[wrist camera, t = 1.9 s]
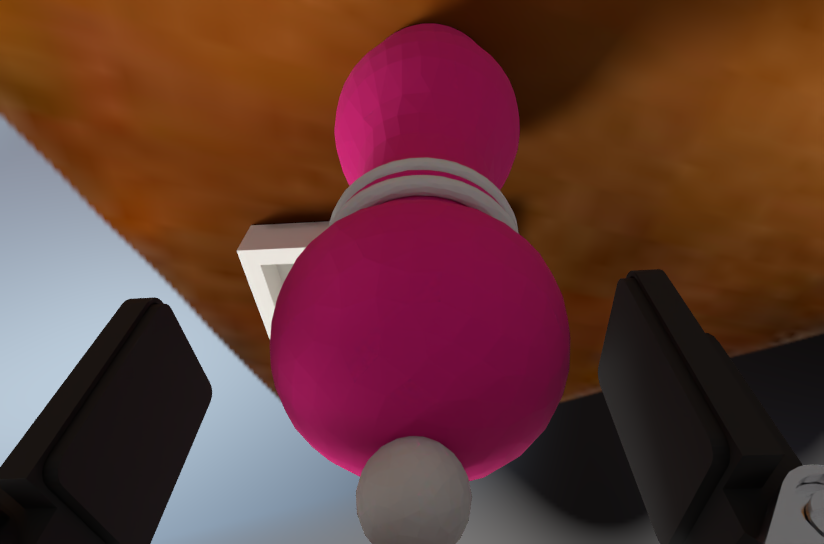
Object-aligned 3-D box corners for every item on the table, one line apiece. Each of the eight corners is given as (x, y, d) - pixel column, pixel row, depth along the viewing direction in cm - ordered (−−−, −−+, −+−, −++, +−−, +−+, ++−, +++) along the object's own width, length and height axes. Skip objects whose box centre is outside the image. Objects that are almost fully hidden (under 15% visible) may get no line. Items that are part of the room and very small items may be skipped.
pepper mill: (351, 0, 20) (52, 362, 4) (521, 19, 20) (822, 428, 5) (350, 160, 25) (198, 625, 9) (489, 173, 25) (587, 655, 9)
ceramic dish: (481, 213, 26) (484, 238, 24) (480, 370, 34) (483, 399, 32) (251, 225, 27) (236, 250, 25) (301, 375, 35) (294, 403, 33)
